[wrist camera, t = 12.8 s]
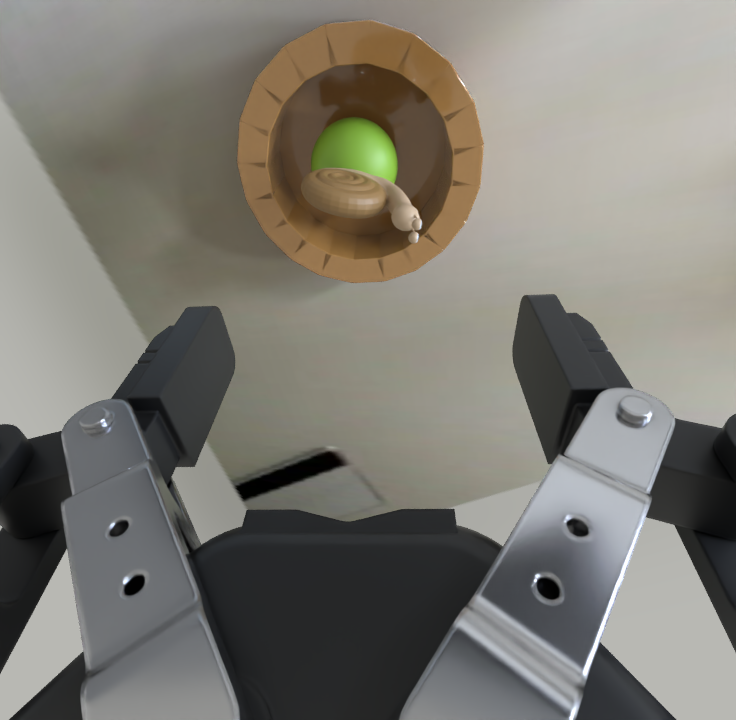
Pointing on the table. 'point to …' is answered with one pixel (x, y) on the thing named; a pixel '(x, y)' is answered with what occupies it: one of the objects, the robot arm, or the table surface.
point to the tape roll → (389, 111)
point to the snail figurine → (358, 175)
